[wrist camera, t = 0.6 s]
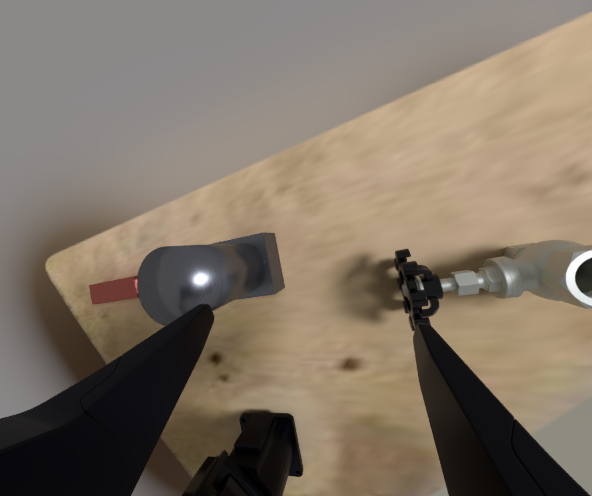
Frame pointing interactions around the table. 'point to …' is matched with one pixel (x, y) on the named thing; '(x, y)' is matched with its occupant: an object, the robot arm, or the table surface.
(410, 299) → the valve
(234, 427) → the table surface
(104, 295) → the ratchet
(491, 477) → the robot arm
